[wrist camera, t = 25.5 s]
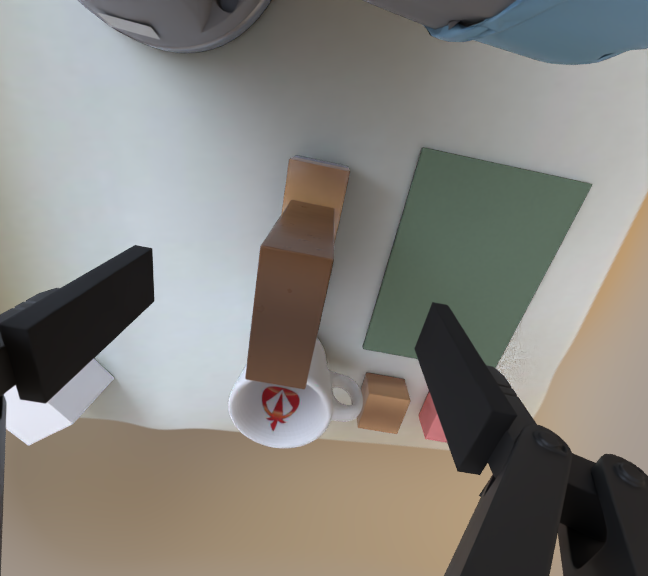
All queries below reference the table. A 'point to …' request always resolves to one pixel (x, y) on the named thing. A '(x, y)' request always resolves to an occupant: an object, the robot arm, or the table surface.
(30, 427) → the white cube
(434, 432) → the eraser block
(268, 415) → the cup
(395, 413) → the cork block
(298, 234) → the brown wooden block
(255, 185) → the table surface
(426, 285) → the desk mat
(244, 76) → the table surface
